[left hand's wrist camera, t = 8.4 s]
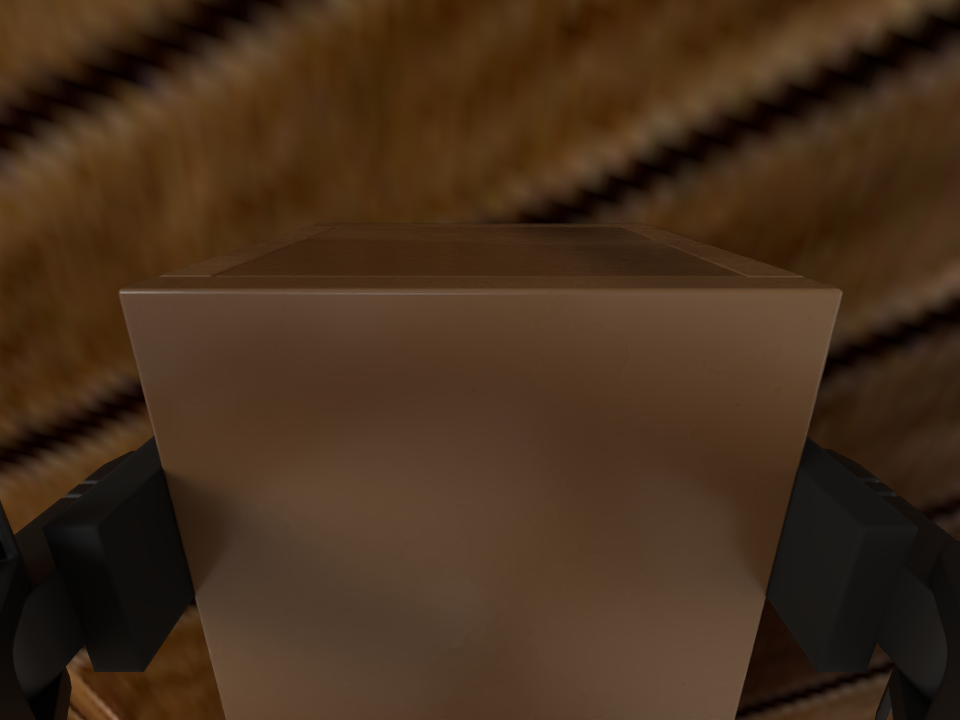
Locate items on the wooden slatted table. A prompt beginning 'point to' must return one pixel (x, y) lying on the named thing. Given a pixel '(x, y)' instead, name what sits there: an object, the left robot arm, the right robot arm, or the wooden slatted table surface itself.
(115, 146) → the wooden slatted table surface
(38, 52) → the wooden slatted table surface
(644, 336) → the cabinet
